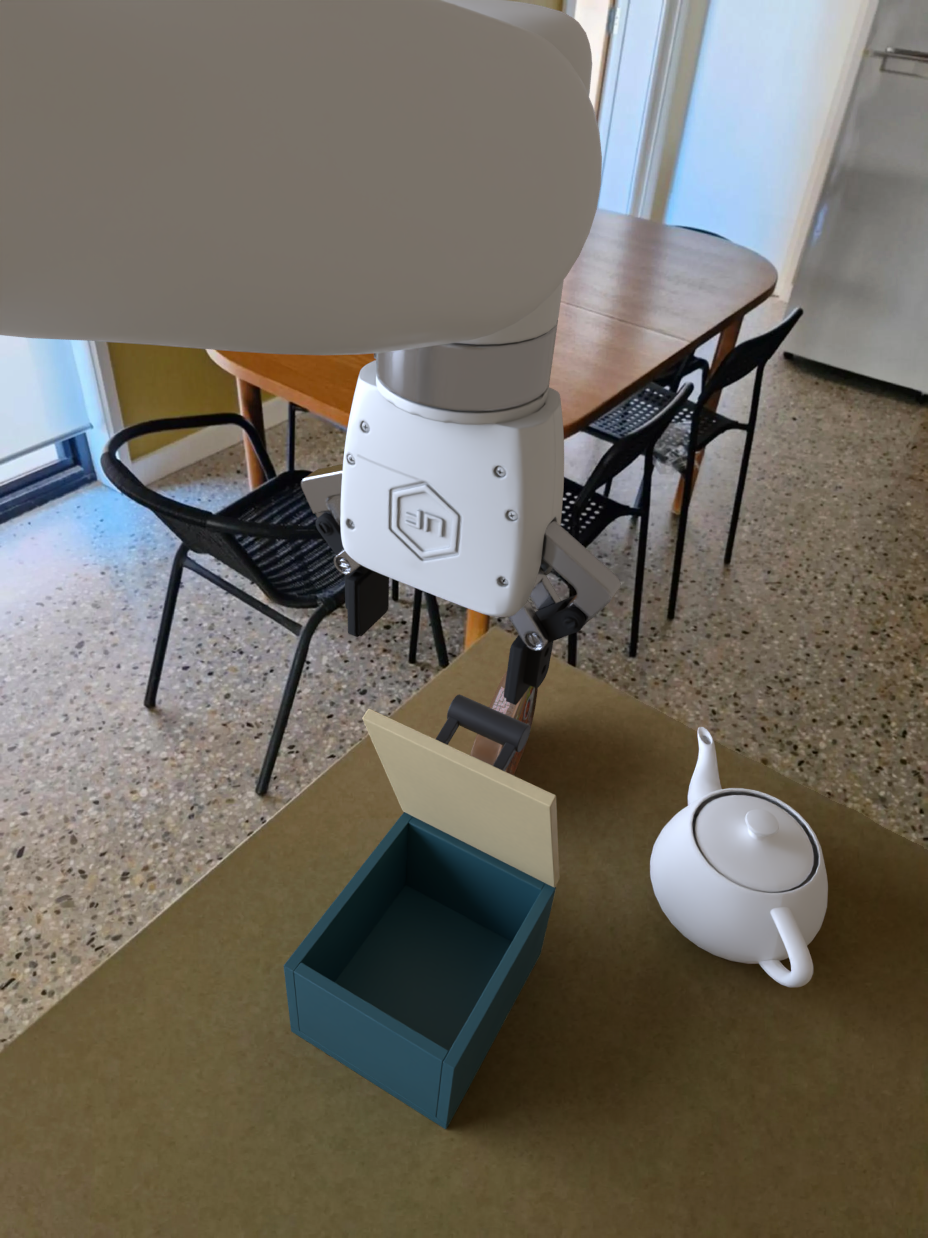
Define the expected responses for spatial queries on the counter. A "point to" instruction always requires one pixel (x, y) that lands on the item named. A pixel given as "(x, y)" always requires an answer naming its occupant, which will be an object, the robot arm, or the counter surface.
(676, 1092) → the counter surface
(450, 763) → the lid
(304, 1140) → the counter surface
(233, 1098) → the counter surface
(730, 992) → the counter surface
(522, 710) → the tin
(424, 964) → the teal open box
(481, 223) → the robot arm
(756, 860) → the teapot
